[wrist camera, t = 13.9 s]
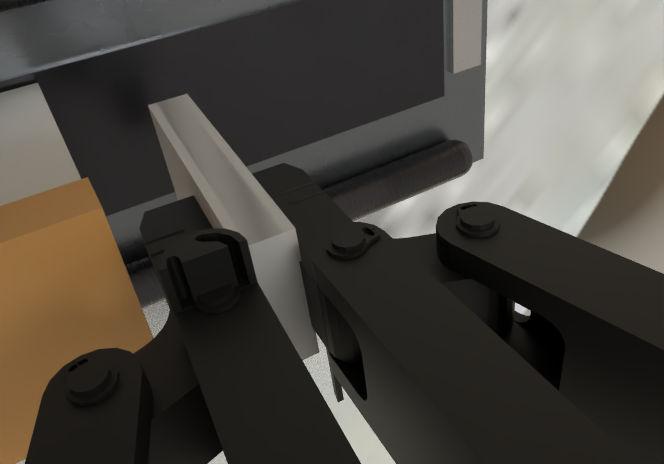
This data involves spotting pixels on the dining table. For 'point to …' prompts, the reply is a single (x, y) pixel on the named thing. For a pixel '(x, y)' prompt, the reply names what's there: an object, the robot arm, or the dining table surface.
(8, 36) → the switch panel
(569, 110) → the dining table surface
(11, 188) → the switch knob
